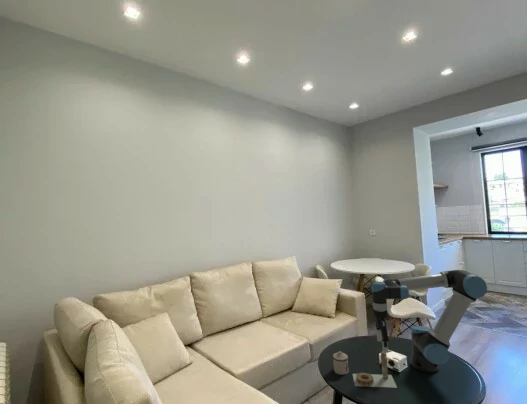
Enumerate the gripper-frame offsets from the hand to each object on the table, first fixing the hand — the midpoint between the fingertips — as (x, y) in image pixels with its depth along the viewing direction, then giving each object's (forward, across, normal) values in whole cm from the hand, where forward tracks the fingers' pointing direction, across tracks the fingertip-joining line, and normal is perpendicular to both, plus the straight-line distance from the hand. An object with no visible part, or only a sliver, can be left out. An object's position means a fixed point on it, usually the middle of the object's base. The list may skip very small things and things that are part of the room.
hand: (382, 346), depth 166 cm
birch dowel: (+18, 0, 0) cm, 18 cm away
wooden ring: (+18, +4, -12) cm, 22 cm away
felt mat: (+18, +3, -7) cm, 19 cm away
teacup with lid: (+18, -8, -24) cm, 31 cm away
